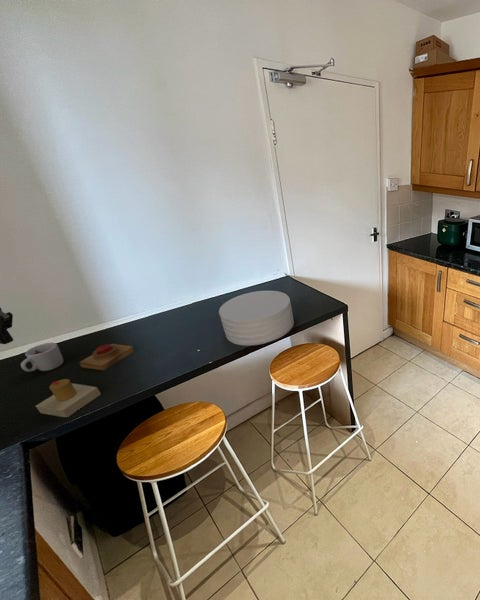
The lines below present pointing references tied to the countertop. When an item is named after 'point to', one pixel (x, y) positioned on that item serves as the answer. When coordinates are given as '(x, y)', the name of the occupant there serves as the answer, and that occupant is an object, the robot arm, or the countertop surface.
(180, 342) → the countertop surface
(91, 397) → the panel
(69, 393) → the lock knob
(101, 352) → the button
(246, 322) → the plate stack
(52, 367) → the cup
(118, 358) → the button block
